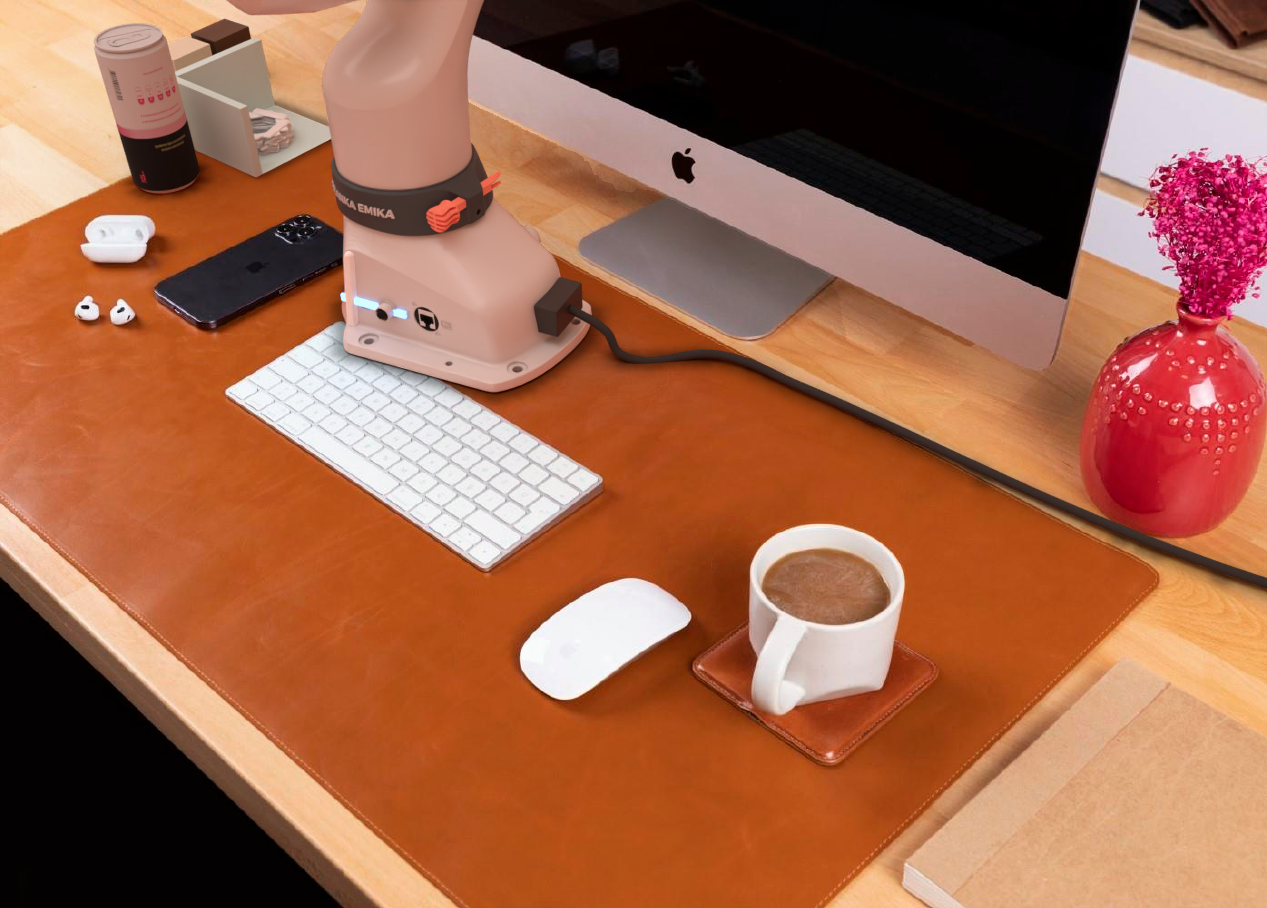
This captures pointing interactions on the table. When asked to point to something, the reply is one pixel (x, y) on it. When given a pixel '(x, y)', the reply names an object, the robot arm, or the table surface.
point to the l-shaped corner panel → (243, 112)
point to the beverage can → (147, 106)
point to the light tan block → (188, 52)
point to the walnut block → (222, 35)
